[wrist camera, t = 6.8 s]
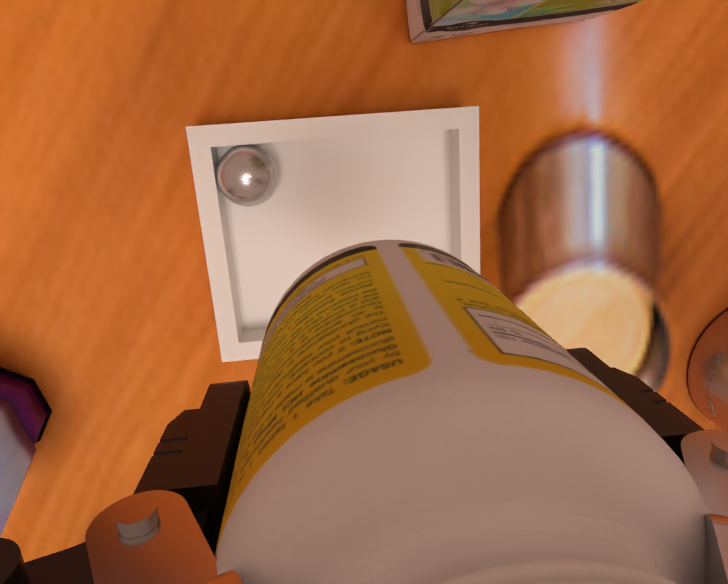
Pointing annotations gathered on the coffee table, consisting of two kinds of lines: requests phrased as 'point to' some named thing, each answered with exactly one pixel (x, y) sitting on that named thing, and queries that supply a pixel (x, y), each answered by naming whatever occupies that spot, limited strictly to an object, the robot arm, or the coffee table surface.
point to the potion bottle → (18, 434)
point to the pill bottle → (443, 443)
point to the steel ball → (247, 175)
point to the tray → (331, 202)
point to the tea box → (497, 15)
